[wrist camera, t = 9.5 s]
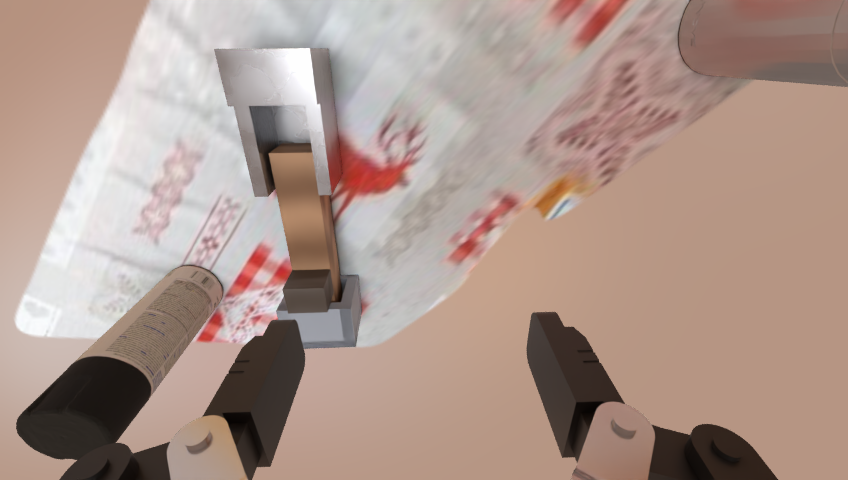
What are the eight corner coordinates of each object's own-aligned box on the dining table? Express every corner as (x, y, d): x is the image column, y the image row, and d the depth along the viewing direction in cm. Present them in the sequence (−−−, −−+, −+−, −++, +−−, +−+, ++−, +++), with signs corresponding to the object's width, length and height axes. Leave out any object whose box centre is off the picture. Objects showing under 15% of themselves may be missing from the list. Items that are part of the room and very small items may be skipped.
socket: (358, 274, 46) (350, 308, 40) (361, 310, 48) (355, 346, 42) (293, 276, 45) (276, 311, 39) (300, 312, 48) (285, 349, 42)
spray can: (159, 264, 44) (-10, 411, 26) (216, 261, 44) (87, 405, 26) (178, 309, 47) (39, 467, 29) (231, 306, 47) (126, 462, 29)
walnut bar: (281, 143, 37) (254, 163, 30) (322, 142, 37) (303, 163, 30) (311, 303, 46) (295, 346, 39) (343, 302, 46) (333, 345, 39)
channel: (252, 49, 34) (214, 49, 27) (328, 48, 34) (309, 48, 27) (277, 175, 39) (250, 200, 33) (342, 173, 39) (329, 199, 33)
